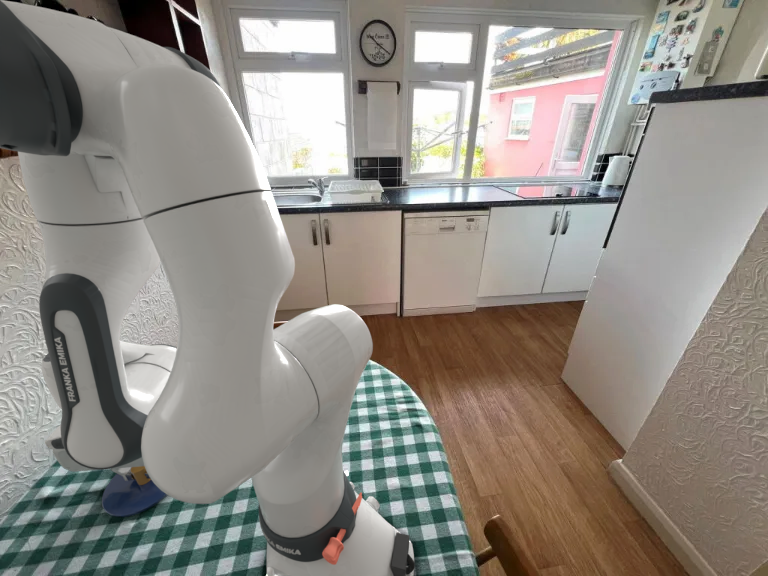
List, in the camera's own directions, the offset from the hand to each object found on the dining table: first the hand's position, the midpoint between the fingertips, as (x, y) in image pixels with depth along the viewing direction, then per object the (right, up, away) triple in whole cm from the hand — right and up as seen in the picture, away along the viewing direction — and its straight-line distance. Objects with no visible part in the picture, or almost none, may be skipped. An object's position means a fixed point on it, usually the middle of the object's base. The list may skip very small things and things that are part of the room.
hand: (143, 475), depth 58 cm
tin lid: (0, -1, +1) cm, 1 cm away
